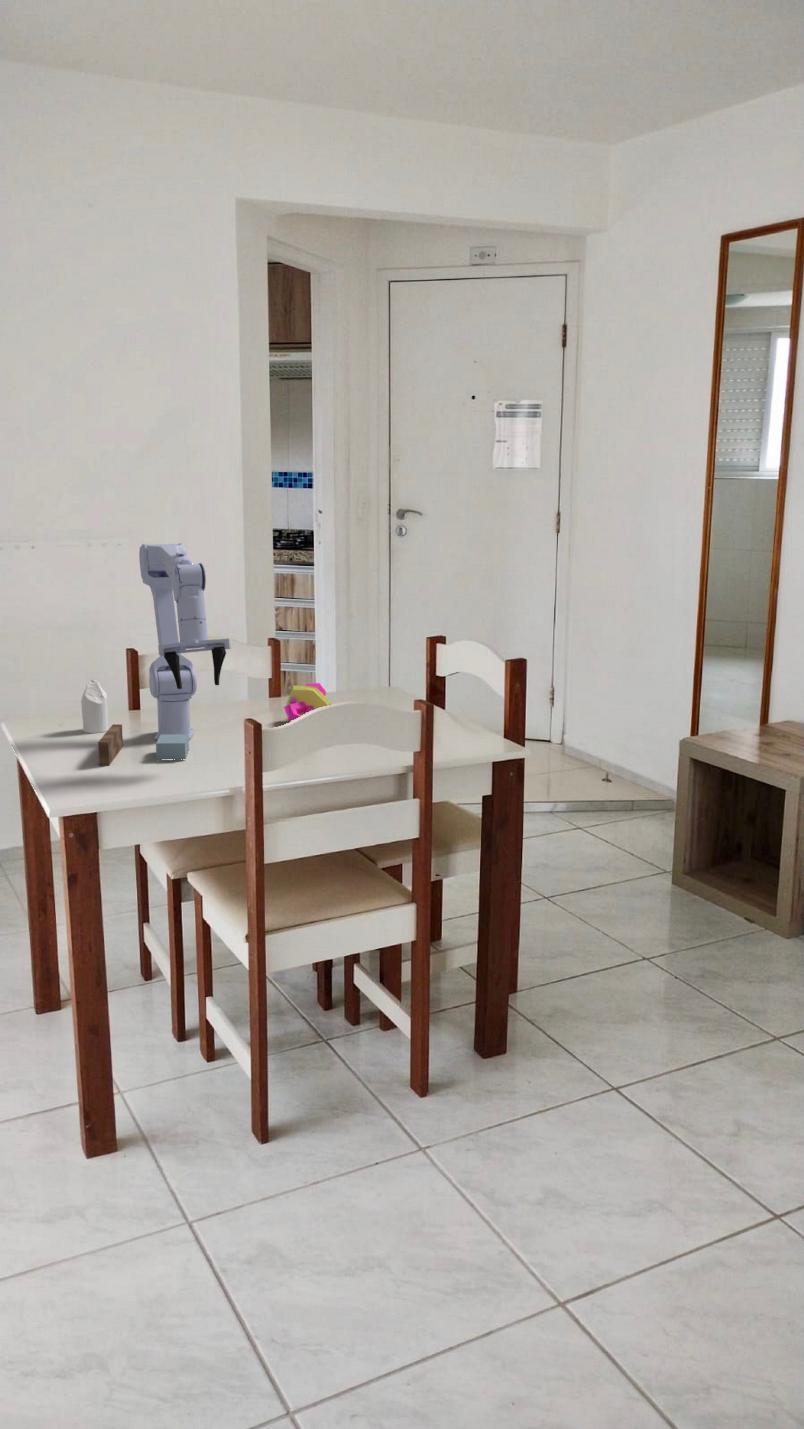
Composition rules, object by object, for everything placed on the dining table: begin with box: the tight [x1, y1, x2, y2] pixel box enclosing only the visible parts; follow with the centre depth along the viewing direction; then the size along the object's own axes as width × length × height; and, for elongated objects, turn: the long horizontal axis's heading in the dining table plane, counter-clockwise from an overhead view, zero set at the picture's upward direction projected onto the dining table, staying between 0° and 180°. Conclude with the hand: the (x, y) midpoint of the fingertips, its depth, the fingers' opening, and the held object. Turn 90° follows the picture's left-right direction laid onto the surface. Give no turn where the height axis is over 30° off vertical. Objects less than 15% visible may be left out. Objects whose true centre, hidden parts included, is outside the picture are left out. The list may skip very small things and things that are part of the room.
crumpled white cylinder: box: [80, 679, 109, 734], centre depth 261 cm, size 6×12×6 cm
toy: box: [283, 682, 332, 722], centre depth 273 cm, size 10×18×10 cm, turn 168°
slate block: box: [155, 734, 190, 761], centre depth 240 cm, size 8×6×4 cm
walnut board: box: [97, 723, 124, 767], centre depth 239 cm, size 16×2×5 cm, turn 4°
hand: (198, 686), depth 232 cm, fingers open, 7 cm apart
